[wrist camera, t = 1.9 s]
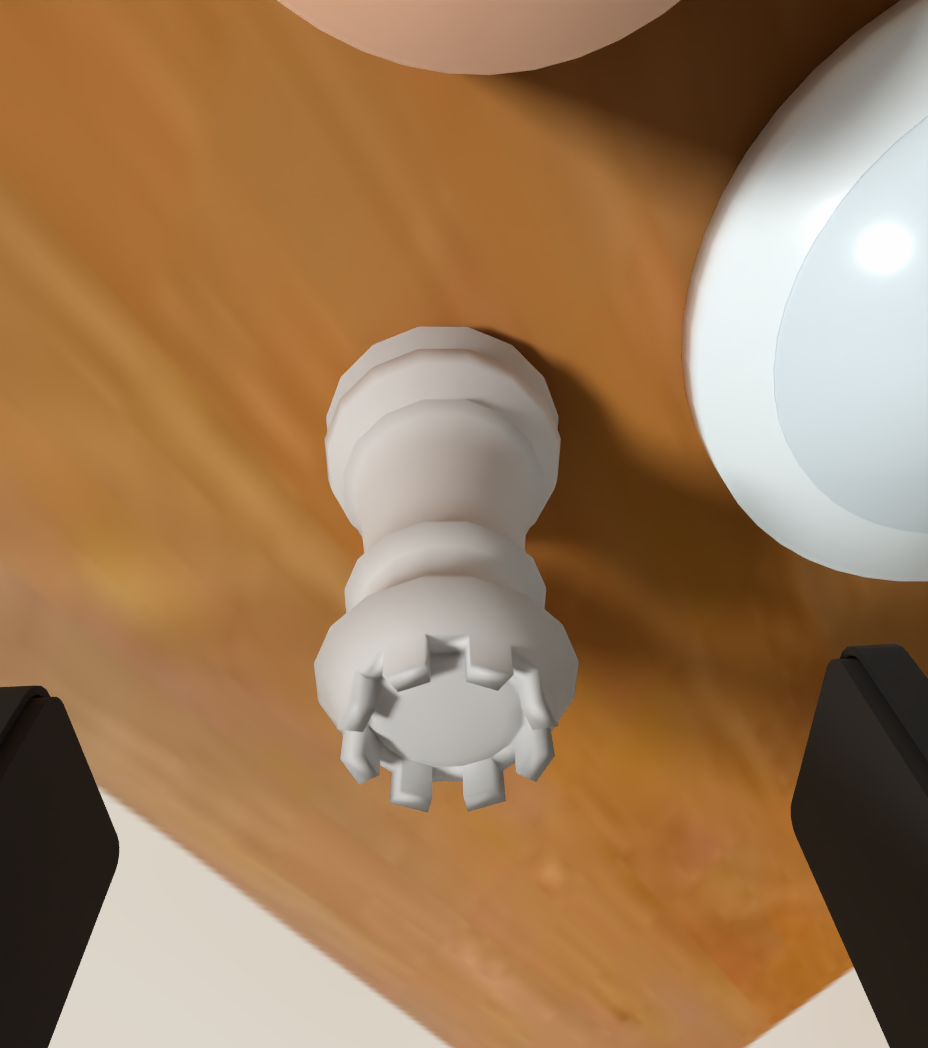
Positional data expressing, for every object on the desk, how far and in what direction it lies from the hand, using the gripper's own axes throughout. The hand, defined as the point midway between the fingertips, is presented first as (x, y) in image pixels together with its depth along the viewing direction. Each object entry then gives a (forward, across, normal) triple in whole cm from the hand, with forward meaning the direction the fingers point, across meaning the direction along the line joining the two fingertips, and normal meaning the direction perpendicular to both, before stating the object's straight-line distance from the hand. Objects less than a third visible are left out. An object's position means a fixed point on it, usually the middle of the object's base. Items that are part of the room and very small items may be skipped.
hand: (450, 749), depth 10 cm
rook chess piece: (+8, 0, -1) cm, 8 cm away
